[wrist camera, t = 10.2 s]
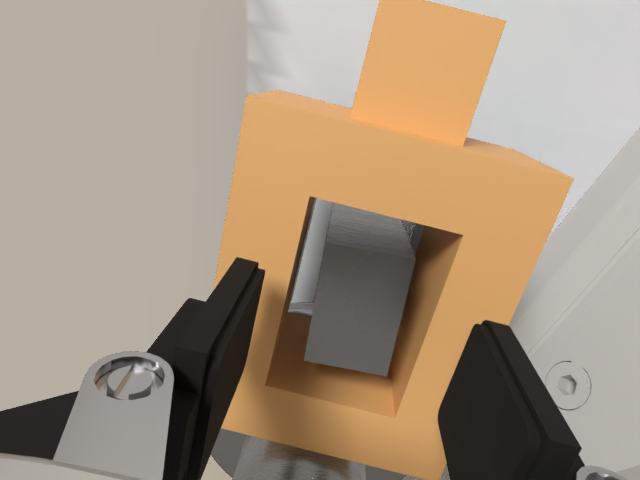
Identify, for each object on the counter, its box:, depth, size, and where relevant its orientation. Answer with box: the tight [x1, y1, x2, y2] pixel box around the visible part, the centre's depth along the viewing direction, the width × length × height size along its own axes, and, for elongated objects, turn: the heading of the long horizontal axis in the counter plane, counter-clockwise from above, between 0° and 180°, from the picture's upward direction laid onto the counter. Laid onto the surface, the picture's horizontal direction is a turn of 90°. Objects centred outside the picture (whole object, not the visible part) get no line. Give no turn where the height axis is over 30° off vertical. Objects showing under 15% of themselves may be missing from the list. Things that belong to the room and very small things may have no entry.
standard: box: [211, 198, 425, 480], centre depth 18 cm, size 18×10×14 cm, turn 167°
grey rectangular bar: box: [304, 202, 416, 376], centre depth 18 cm, size 4×2×11 cm, turn 170°
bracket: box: [213, 0, 574, 480], centre depth 14 cm, size 13×8×4 cm, turn 167°
